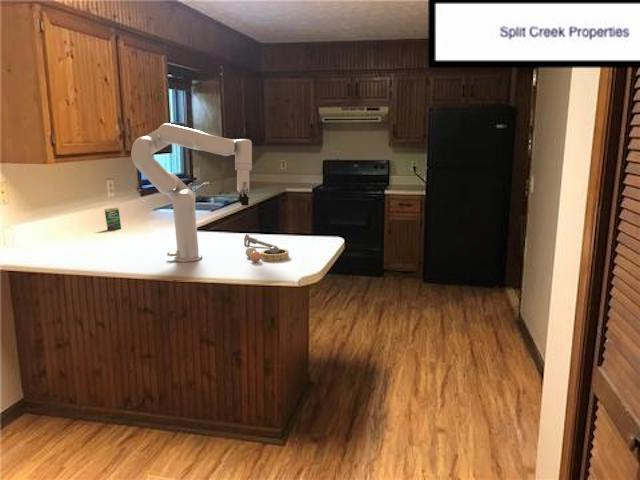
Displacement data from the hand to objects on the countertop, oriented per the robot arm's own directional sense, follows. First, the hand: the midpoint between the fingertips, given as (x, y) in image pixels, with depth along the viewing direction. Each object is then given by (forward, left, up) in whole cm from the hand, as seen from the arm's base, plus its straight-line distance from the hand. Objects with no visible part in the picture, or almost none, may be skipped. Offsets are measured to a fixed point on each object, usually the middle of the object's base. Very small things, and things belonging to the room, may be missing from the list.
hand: (243, 204), depth 238 cm
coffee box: (-68, +99, -25) cm, 122 cm away
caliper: (+10, +14, -25) cm, 30 cm away
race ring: (+11, -11, -24) cm, 29 cm away
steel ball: (+11, -10, -22) cm, 26 cm away
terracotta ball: (+2, -15, -22) cm, 27 cm away
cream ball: (+1, -5, -22) cm, 23 cm away
